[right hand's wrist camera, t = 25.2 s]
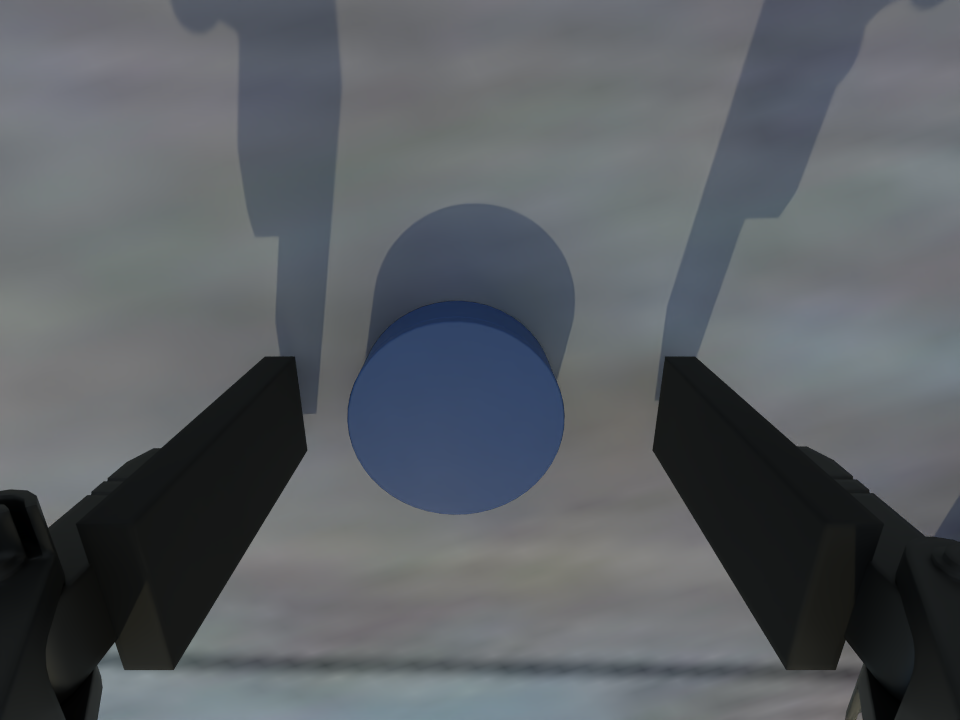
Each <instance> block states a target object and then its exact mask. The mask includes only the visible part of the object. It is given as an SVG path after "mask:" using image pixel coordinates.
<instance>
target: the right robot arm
mask: <svg viewBox="0 0 960 720" xmlns="http://www.w3.org/2000/svg"><path fill="white" fill-rule="evenodd" d="M306 452H307V444H306V436H305V429H304V422H303V414H302V407H301V399H300V392H299V384H298V377H297V369H296V362H295V357H264V358H263V359H262V360H261V361H260V362H258V363H257V364H256V365H255V366H254V367H253V368H252V369H250V370H249V371H248V372H247V373H246V374H245V375H244V376H243V377H241V378H240V379H239V380H238V381H237V382H236V383H235V384H233V385H232V386H231V387H230V388H229V389H228V390H227V391H226V392H224V393H223V394H222V395H221V396H220V397H219V398H218V399H216V400H215V401H214V402H213V403H212V404H211V405H210V406H209V407H207V408H206V409H205V410H204V411H203V412H202V413H201V414H199V415H198V416H197V417H196V418H195V419H194V420H193V421H192V422H190V423H189V424H188V425H187V426H186V427H185V428H184V429H182V430H181V431H180V432H179V433H178V434H177V435H176V436H175V437H173V438H172V439H171V440H170V441H169V442H168V443H167V444H165V445H164V446H163V447H162V448H153V449H151V450H149V451H148V452H146V453H144V454H142V455H140V456H138V457H136V458H134V459H132V460H130V461H128V462H126V463H125V464H124V465H123V466H122V467H120V468H119V469H118V470H117V471H116V472H115V473H113V474H112V475H111V476H110V477H109V478H108V481H104V482H103V483H101V484H100V485H99V486H98V487H97V488H95V489H94V490H93V491H92V492H91V495H87V496H86V497H85V498H83V499H82V500H81V501H80V502H79V503H77V504H76V505H75V506H74V507H73V508H71V509H70V510H69V511H68V512H67V513H65V514H64V515H63V516H62V517H61V518H60V519H58V520H57V521H56V522H55V523H54V524H52V525H51V526H50V527H49V528H48V526H47V524H46V521H45V518H44V515H43V513H42V510H41V507H40V504H39V501H38V499H37V496H36V495H34V494H33V493H31V492H29V491H26V490H4V491H0V720H97V719H98V713H99V706H100V700H101V694H102V688H103V687H102V680H101V675H100V672H99V669H98V666H97V664H98V663H99V662H100V661H101V659H102V658H103V657H104V655H105V654H106V653H107V651H108V650H109V649H110V648H111V646H112V645H113V644H114V642H115V643H116V646H117V649H118V652H119V655H120V658H121V661H122V664H123V667H124V670H174V668H175V667H176V665H177V664H178V662H179V660H180V659H181V657H182V655H183V654H184V652H185V650H186V649H187V647H188V646H189V644H190V642H191V641H192V639H193V637H194V636H195V634H196V632H197V631H198V629H199V627H200V626H201V624H202V623H203V621H204V619H205V618H206V616H207V614H208V613H209V611H210V609H211V608H212V606H213V604H214V603H215V601H216V600H217V598H218V596H219V595H220V593H221V591H222V590H223V588H224V586H225V585H226V583H227V581H228V580H229V578H230V577H231V575H232V573H233V572H234V570H235V568H236V567H237V565H238V563H239V562H240V560H241V558H242V557H243V555H244V554H245V552H246V550H247V549H248V547H249V545H250V544H251V542H252V540H253V539H254V537H255V535H256V534H257V532H258V531H259V529H260V527H261V526H262V524H263V522H264V521H265V519H266V517H267V516H268V514H269V512H270V511H271V509H272V508H273V506H274V504H275V503H276V501H277V499H278V498H279V496H280V494H281V493H282V491H283V490H284V488H285V486H286V485H287V483H288V481H289V480H290V478H291V476H292V475H293V473H294V471H295V470H296V468H297V467H298V465H299V463H300V462H301V460H302V458H303V457H304V455H305V453H306ZM653 452H654V453H655V455H656V457H657V458H658V460H659V462H660V463H661V465H662V467H663V468H664V470H665V471H666V473H667V475H668V476H669V478H670V480H671V481H672V483H673V485H674V486H675V488H676V490H677V491H678V493H679V494H680V496H681V498H682V499H683V501H684V503H685V504H686V506H687V508H688V509H689V511H690V513H691V514H692V516H693V517H694V519H695V521H696V522H697V524H698V526H699V527H700V529H701V531H702V532H703V534H704V536H705V537H706V539H707V540H708V542H709V544H710V545H711V547H712V549H713V550H714V552H715V554H716V555H717V557H718V558H719V560H720V562H721V563H722V565H723V567H724V568H725V570H726V572H727V573H728V575H729V577H730V578H731V580H732V581H733V583H734V585H735V586H736V588H737V590H738V591H739V593H740V595H741V596H742V598H743V600H744V601H745V603H746V604H747V606H748V608H749V609H750V611H751V613H752V614H753V616H754V618H755V619H756V621H757V623H758V624H759V626H760V627H761V629H762V631H763V632H764V634H765V636H766V637H767V639H768V641H769V642H770V644H771V646H772V647H773V649H774V650H775V652H776V654H777V655H778V657H779V659H780V660H781V662H782V664H783V665H784V667H785V669H786V670H836V667H837V664H838V661H839V658H840V655H841V652H842V649H843V646H844V643H845V640H846V641H847V642H848V643H849V645H850V646H851V647H852V649H853V650H854V651H855V652H856V654H857V655H858V656H859V658H860V659H861V660H862V661H863V663H864V664H863V666H862V669H861V672H860V675H859V677H858V680H857V683H856V686H855V689H854V691H853V694H852V697H851V700H850V703H849V705H848V708H847V711H846V718H845V720H856V718H857V716H858V713H860V712H862V717H863V720H960V542H958V541H955V540H950V539H944V538H938V537H932V536H931V537H925V536H924V535H923V534H922V533H921V532H919V531H918V530H917V529H916V528H915V527H913V526H912V525H911V524H910V523H909V522H907V521H906V520H905V519H904V518H903V517H901V516H900V515H899V514H898V513H897V512H895V511H894V510H893V509H892V508H891V507H889V506H888V505H887V504H886V503H884V502H883V501H882V500H881V499H880V498H878V497H877V496H876V495H875V494H874V493H869V489H868V488H866V487H865V486H864V485H863V484H862V483H860V482H859V481H858V480H853V476H852V475H851V474H850V473H848V472H847V471H846V470H845V469H844V468H842V467H841V466H840V465H839V464H837V463H836V462H835V461H834V460H832V459H830V458H828V457H826V456H824V455H822V454H820V453H818V452H816V451H815V450H813V449H811V448H809V447H797V446H796V445H795V444H793V443H792V442H791V441H790V440H789V439H788V438H787V437H785V436H784V435H783V434H782V433H781V432H780V431H779V430H778V429H776V428H775V427H774V426H773V425H772V424H771V423H770V422H768V421H767V420H766V419H765V418H764V417H763V416H762V415H761V414H759V413H758V412H757V411H756V410H755V409H754V408H753V407H751V406H750V405H749V404H748V403H747V402H746V401H745V400H744V399H742V398H741V397H740V396H739V395H738V394H737V393H736V392H734V391H733V390H732V389H731V388H730V387H729V386H728V385H727V384H725V383H724V382H723V381H722V380H721V379H720V378H719V377H717V376H716V375H715V374H714V373H713V372H712V371H711V370H710V369H708V368H707V367H706V366H705V365H704V364H703V363H702V362H700V361H699V360H698V359H697V358H696V357H665V362H664V369H663V377H662V384H661V392H660V399H659V407H658V414H657V421H656V429H655V436H654V444H653Z"/></svg>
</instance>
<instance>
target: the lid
mask: <svg viewBox="0 0 960 720" xmlns="http://www.w3.org/2000/svg"><path fill="white" fill-rule="evenodd" d="M564 416H565V415H564V405H563V400H562V396H561V392H560V389H559V386H558V384H557V381H556V379H555V377H554V374H553V372H552V369H551V367H550V365H549V362H548V360H547V357H546V355H545V353H544V351H543V349H542V347H541V346H540V344H539V342H538V341H537V340H536V339H535V337H534V336H533V335H532V334H531V332H530V331H529V330H528V329H526V328H525V327H524V326H523V325H522V324H521V323H520V322H518V321H517V320H516V319H514V318H513V317H511V316H510V315H508V314H506V313H504V312H502V311H500V310H498V309H495V308H493V307H490V306H487V305H483V304H479V303H475V302H465V301H447V302H440V303H434V304H431V305H427V306H424V307H421V308H418V309H416V310H414V311H412V312H409V313H408V314H406V315H404V316H403V317H401V318H399V319H398V320H397V321H396V322H394V323H393V324H392V325H391V326H389V327H388V328H387V329H386V330H385V332H384V333H383V334H382V335H381V336H380V337H379V339H378V340H377V341H376V343H375V344H374V346H373V347H372V349H371V351H370V353H369V355H368V357H367V359H366V361H365V363H364V365H363V367H362V369H361V371H360V373H359V375H358V377H357V379H356V381H355V383H354V385H353V388H352V391H351V394H350V399H349V405H348V429H349V435H350V439H351V443H352V446H353V449H354V451H355V453H356V456H357V458H358V460H359V461H360V463H361V465H362V466H363V468H364V469H365V471H366V472H367V473H368V474H369V476H370V477H371V478H372V479H373V480H374V481H375V482H376V483H377V484H378V485H379V486H380V487H381V488H382V489H384V490H385V491H386V492H388V493H389V494H390V495H392V496H393V497H395V498H397V499H399V500H400V501H402V502H404V503H406V504H409V505H411V506H413V507H416V508H419V509H422V510H426V511H430V512H435V513H440V514H453V515H454V514H471V513H478V512H483V511H487V510H491V509H494V508H496V507H499V506H502V505H504V504H506V503H508V502H510V501H512V500H514V499H516V498H518V497H519V496H521V495H522V494H524V493H525V492H526V491H528V490H529V489H530V488H531V487H532V486H533V485H535V484H536V483H537V482H538V481H539V479H540V478H541V477H542V476H543V475H544V474H545V472H546V471H547V470H548V468H549V467H550V465H551V464H552V462H553V460H554V458H555V456H556V454H557V452H558V449H559V446H560V443H561V440H562V435H563V430H564Z"/></svg>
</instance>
